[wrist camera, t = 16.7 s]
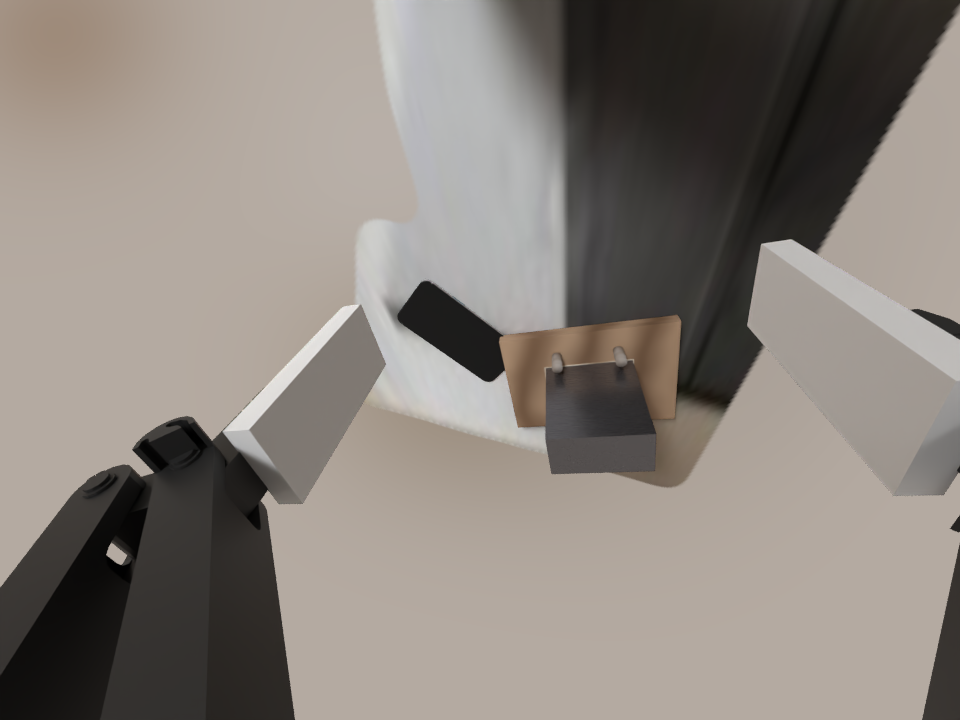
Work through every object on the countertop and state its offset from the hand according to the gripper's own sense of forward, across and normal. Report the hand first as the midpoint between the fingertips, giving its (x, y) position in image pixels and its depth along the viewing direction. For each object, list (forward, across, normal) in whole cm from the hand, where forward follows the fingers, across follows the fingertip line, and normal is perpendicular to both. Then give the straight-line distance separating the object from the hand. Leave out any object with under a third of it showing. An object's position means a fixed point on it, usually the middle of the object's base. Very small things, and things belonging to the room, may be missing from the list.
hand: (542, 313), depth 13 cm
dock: (+29, +2, -24) cm, 37 cm away
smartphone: (+29, -13, -16) cm, 36 cm away
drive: (+27, +2, -24) cm, 36 cm away
